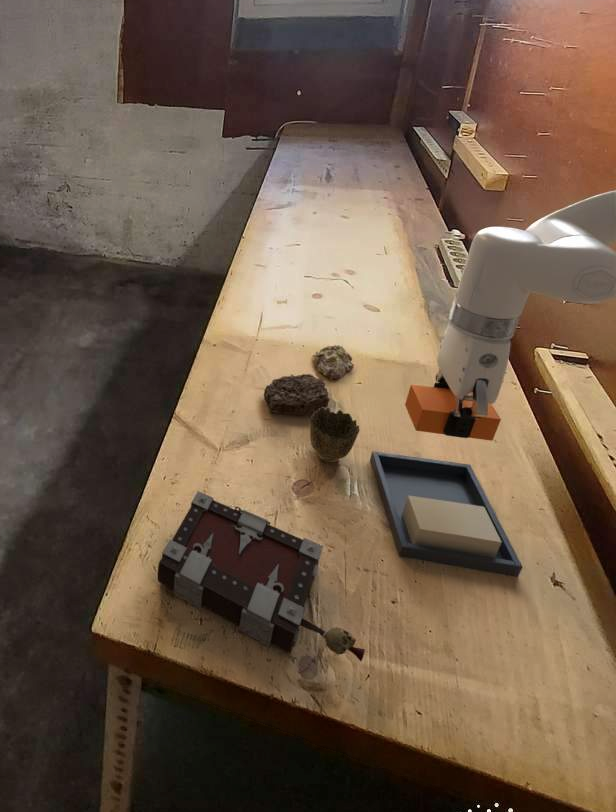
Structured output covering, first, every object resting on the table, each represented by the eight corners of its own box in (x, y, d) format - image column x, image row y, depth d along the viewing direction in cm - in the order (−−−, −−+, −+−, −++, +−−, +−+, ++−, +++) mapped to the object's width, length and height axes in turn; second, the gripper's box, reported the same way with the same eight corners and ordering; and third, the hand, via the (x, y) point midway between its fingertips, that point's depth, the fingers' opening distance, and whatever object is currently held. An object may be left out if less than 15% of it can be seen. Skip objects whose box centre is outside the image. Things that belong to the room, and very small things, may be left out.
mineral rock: (314, 339, 125) (354, 339, 120) (317, 356, 126) (356, 356, 122) (307, 366, 116) (349, 368, 112) (310, 384, 118) (352, 386, 113)
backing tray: (465, 476, 92) (470, 464, 91) (516, 579, 76) (522, 567, 75) (368, 462, 95) (372, 451, 94) (398, 559, 79) (402, 546, 78)
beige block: (476, 525, 83) (484, 506, 81) (493, 561, 77) (501, 542, 76) (401, 514, 85) (408, 495, 83) (413, 548, 80) (420, 529, 78)
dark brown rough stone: (323, 392, 112) (328, 371, 110) (327, 425, 103) (332, 403, 101) (263, 382, 115) (266, 362, 113) (262, 414, 107) (266, 393, 104)
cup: (351, 449, 98) (360, 413, 94) (350, 479, 92) (359, 442, 88) (305, 438, 101) (312, 402, 97) (302, 466, 95) (309, 430, 91)
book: (196, 511, 87) (198, 487, 85) (373, 592, 75) (381, 567, 72) (154, 587, 76) (156, 562, 74) (353, 697, 64) (362, 671, 62)
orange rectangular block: (476, 413, 86) (484, 392, 84) (492, 441, 81) (501, 419, 79) (404, 404, 88) (410, 384, 86) (415, 430, 83) (422, 409, 81)
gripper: (546, 356, 68) (500, 466, 76) (489, 290, 83) (455, 387, 91) (476, 349, 70) (438, 457, 78) (432, 285, 85) (404, 382, 93)
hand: (448, 419), depth 84 cm, fingers closed on orange rectangular block, 6 cm apart
